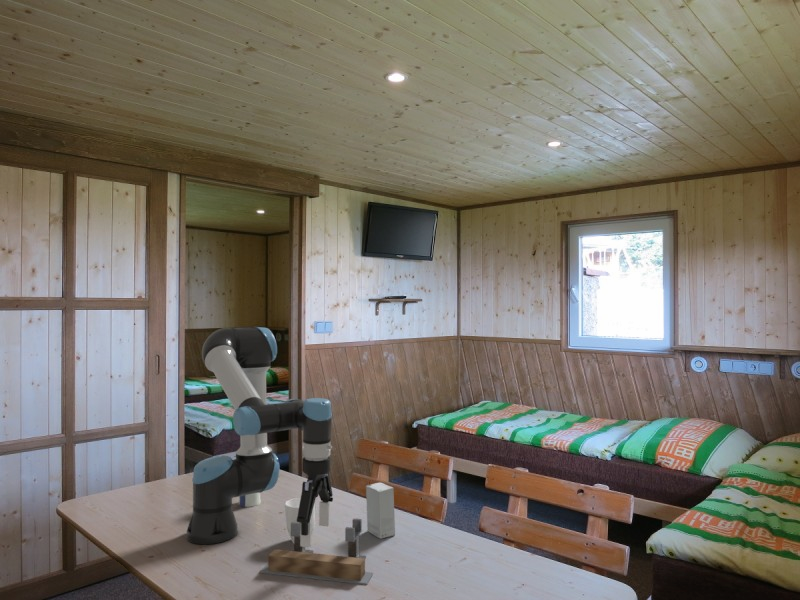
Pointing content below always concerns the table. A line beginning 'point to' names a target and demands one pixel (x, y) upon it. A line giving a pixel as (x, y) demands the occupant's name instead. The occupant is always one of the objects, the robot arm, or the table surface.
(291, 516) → the mug
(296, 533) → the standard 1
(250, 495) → the water bottle
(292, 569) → the rail
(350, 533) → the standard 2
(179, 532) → the table surface
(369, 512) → the skincare box
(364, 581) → the mat
